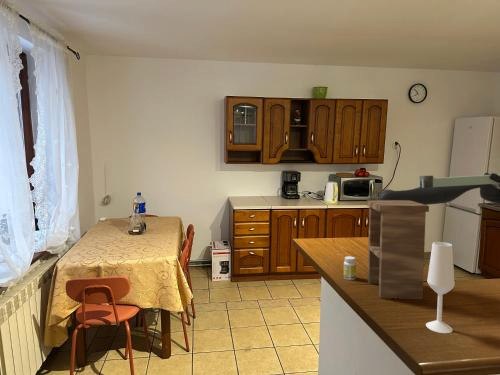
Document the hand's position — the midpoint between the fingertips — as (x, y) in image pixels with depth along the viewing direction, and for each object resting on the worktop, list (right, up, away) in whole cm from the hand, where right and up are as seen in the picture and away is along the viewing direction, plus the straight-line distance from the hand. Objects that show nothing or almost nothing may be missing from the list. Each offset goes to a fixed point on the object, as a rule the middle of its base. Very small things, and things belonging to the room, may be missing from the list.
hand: (487, 175), depth 121 cm
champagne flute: (-31, -44, -25) cm, 59 cm away
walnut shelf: (-32, -42, +3) cm, 53 cm away
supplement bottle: (-44, -41, +16) cm, 63 cm away
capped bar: (-9, -3, +1) cm, 9 cm away
